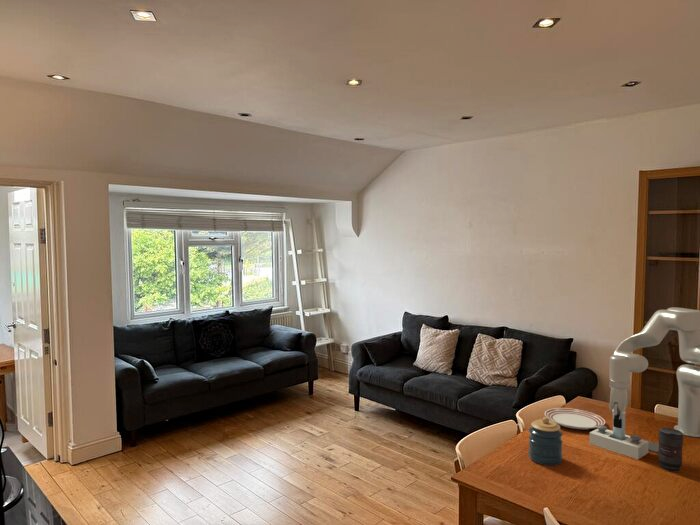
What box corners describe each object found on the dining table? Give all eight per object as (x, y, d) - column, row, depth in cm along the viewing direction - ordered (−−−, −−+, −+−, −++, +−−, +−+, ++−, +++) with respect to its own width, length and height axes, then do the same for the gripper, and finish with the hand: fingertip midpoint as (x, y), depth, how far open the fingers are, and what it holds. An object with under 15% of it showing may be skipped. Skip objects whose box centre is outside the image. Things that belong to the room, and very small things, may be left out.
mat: (643, 440, 217) (643, 439, 217) (665, 447, 210) (665, 446, 210) (634, 446, 212) (634, 444, 212) (657, 453, 205) (657, 451, 205)
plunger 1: (599, 437, 219) (599, 424, 218) (608, 440, 215) (608, 426, 215) (595, 439, 216) (595, 426, 216) (604, 442, 213) (604, 429, 213)
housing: (589, 443, 215) (589, 432, 215) (600, 437, 221) (600, 427, 221) (637, 459, 199) (638, 447, 199) (648, 452, 205) (648, 441, 205)
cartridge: (614, 436, 214) (614, 407, 213) (627, 439, 210) (626, 410, 210) (611, 439, 210) (610, 410, 210) (623, 442, 207) (623, 413, 206)
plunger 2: (632, 447, 207) (632, 433, 207) (642, 450, 204) (642, 436, 204) (628, 450, 205) (628, 436, 205) (638, 453, 202) (638, 439, 202)
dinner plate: (559, 409, 260) (559, 403, 259) (614, 423, 239) (614, 416, 239) (534, 422, 241) (534, 415, 241) (591, 439, 221) (591, 431, 221)
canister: (562, 455, 204) (563, 414, 203) (562, 468, 192) (562, 425, 191) (530, 450, 209) (530, 410, 209) (527, 462, 198) (527, 420, 197)
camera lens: (686, 473, 187) (687, 435, 186) (663, 472, 189) (663, 434, 188) (676, 464, 195) (677, 427, 194) (654, 462, 197) (655, 426, 196)
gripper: (614, 378, 218) (614, 417, 219) (604, 387, 205) (604, 429, 206) (633, 381, 213) (633, 421, 214) (624, 390, 200) (623, 433, 201)
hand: (619, 425), depth 210 cm, fingers closed on cartridge, 4 cm apart
